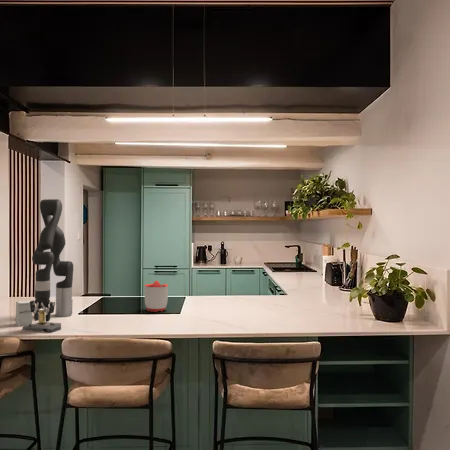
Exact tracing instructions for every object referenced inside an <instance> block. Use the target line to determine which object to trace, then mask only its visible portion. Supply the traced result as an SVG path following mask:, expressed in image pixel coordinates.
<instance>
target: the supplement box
mask: <svg viewBox="0 0 450 450" xmlns="http://www.w3.org/2000/svg"><path fill="white" fill-rule="evenodd" d="M30 301H31V300H19V301H16V302H15V325H16V326H17V327H23V326H27V325H29V324H33V312H31V310H30Z"/></svg>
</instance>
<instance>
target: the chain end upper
mask: <svg viewBox="0 0 450 450" xmlns="http://www.w3.org/2000/svg"><path fill="white" fill-rule="evenodd" d="M31 328H42V329H47V331H46V333H55V332H57V330H58V331H61V330H62V322H50V321H48V322H46V321H45V324H43V325H40V324H39V321H38V322H35V323H32V324H31Z"/></svg>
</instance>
